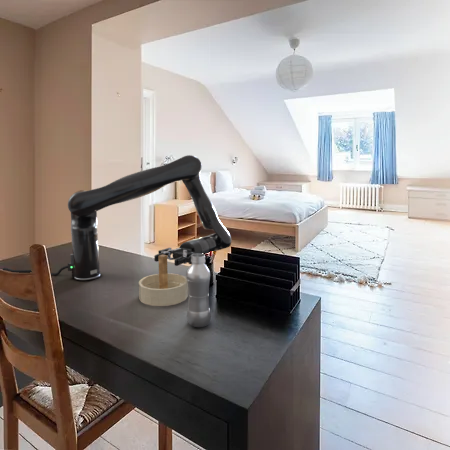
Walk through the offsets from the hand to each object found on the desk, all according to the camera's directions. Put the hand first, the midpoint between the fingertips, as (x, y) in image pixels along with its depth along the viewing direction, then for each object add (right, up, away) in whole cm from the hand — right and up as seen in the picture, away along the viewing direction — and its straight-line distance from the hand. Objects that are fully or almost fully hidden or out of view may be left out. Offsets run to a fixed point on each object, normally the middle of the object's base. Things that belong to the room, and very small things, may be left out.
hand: (165, 260), depth 115 cm
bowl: (-1, -13, +1) cm, 13 cm away
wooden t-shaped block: (-1, -12, +1) cm, 12 cm away
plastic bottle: (+12, -16, -17) cm, 26 cm away
